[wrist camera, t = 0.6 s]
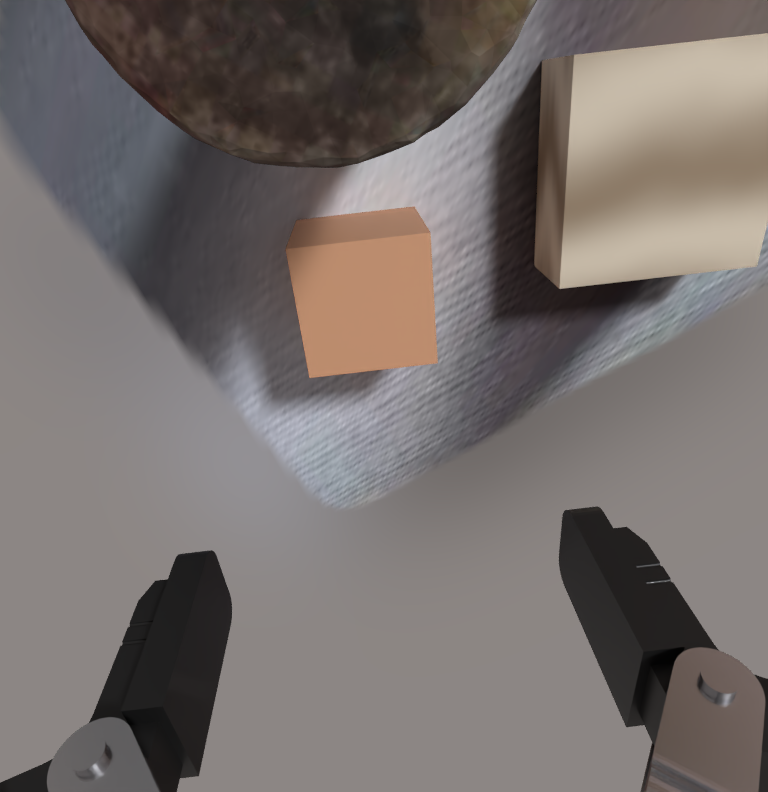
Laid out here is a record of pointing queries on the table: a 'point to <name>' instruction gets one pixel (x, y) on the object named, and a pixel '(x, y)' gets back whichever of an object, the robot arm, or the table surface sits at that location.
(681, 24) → the table surface
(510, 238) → the table surface
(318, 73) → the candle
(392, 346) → the terracotta cube
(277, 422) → the table surface
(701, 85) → the oak plinth
